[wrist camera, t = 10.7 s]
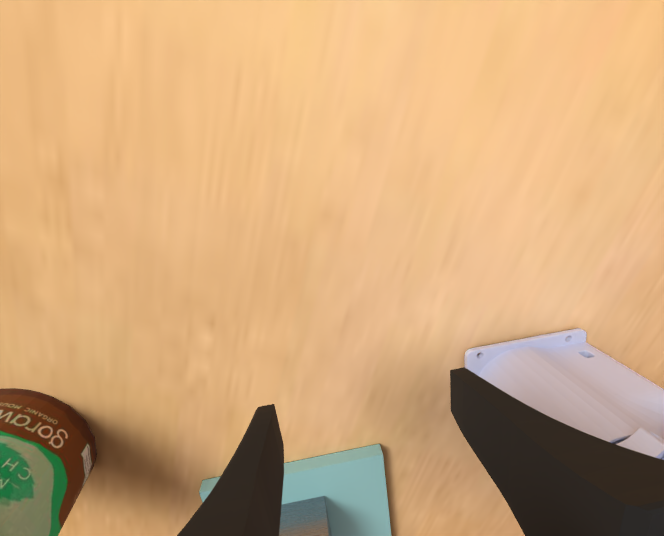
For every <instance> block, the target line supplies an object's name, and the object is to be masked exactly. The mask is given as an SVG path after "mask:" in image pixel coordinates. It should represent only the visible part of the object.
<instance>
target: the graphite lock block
mask: <svg viewBox="0 0 664 536" xmlns="http://www.w3.org/2000/svg"><path fill="white" fill-rule="evenodd" d="M279 536H332V534H331V528H330V523H329V517H328V512H327V506H326V501H325V496H320V497H316V498H311V499H306V500H301V501H297V502H292V503H287V504H282V505H281V517H280V530H279Z"/></svg>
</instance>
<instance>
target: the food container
mask: <svg viewBox="0 0 664 536" xmlns="http://www.w3.org/2000/svg"><path fill="white" fill-rule="evenodd" d="M96 455H97V453H96V444H95V437H94V435H93V433H92V431H91V430H90V428H89V426H88V424H87V422H86V421H85V420H84V419H83V418H82V417H81V416H80V415H79V414H78V413H77V412H76V411H74V410H73V409H72V408H71V407H70V406H69V405H67V404H65V403H63V402H61V401H59V400H57V399H56V398H54V397H51V396H48V395H46V394H43V393H40V392H35V391H31V390H24V389H0V536H58V534H59V532H60V530H61V528H62V526H63V524H64V523H65V521H66V519H67V517H68V515H69V513H70V511H71V509H72V507H73V505H74V503H75V501H76V499H77V497H78V495H79V493H80V491H81V489H82V488H83V486H84V484H85V482H86V480H87V478H88V476H89V474H90V472H91V470H92V468H93V466H94V462H95V459H96Z"/></svg>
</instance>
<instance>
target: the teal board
mask: <svg viewBox="0 0 664 536" xmlns="http://www.w3.org/2000/svg"><path fill="white" fill-rule="evenodd" d="M220 477H221V476H220ZM220 477H216V478H211V479H206V480H203V481H202V484H201V488H200V491H199V494H200V496H201V499H202V502H204V501H205V499H206V498H207V496H208V495H209V494H210V492H211V491H212V489H213V488H214V486H215V485H216V483H217V482H218V480H219V479H220ZM320 496H325V501H326V506H327V512H328V517H329V523H330V528H331V534H332V536H391V527H390V518H389V508H388V498H387V489H386V479H385V469H384V460H383V453H382V450H381V447H380V444H376V445H371V446H366V447H361V448H356V449H351V450H347V451H342V452H337V453H332V454H327V455H322V456H317V457H313V458H308V459H303V460H298V461H293V462H288V463H284V480H283V493H282V504H287V503H292V502H297V501H301V500H306V499H311V498H316V497H320Z"/></svg>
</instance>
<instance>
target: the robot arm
mask: <svg viewBox="0 0 664 536" xmlns="http://www.w3.org/2000/svg"><path fill="white" fill-rule="evenodd" d="M586 336H587V334H586V331H584V330H582V329H580V328H577V329H572V330H566V331H561V332H556V333H550V334H545V335H540V336H534V337H529V338H524V339H518V340H513V341H508V342H502V343H497V344H492V345H486V346H481V347H476V348H471V349H468V350H467V351H466V352H465V368H459V369H454V370H450V381H451V412H452V414H453V416H454V418H455V420H456V422H457V424H458V426H459V428H460V430H461V432H462V434H463V435H464V437H465V438H466V440H467V442H468V443H469V445H470V446H471V448H472V449H473V451H474V452H475V454H476V455H477V457H478V458H479V460H480V461H481V463H482V464H483V466H484V467H485V469H486V470H487V472H488V473H489V475H490V476H491V478H492V479H493V481H494V482H495V484H496V485H497V487H498V488H499V490H500V492H501V493H502V495H503V496H504V498H505V500H506V501H507V503H508V505H509V507H510V509H511V510H512V512H513V514H514V516H515V518H516V519H517V521H518V523H519V525H520V527H521V529H522V530H523V532H524V534H525V536H664V389H663V388H661V387H659V386H658V385H656V384H654V383H653V382H651V381H649V380H648V379H646V378H645V377H643V376H641V375H640V374H638V373H636V372H635V371H633V370H631V369H630V368H628V367H626V366H625V365H623V364H621V363H620V362H618V361H616V360H615V359H613V358H611V357H610V356H608V355H606V354H605V353H603V352H601V351H600V350H598V349H596V348H595V347H593V346H591V345H590V344H588V343H586ZM566 337H567V338H566ZM478 353H480V354H479V355H477V354H478ZM283 480H284V449H283V441H282V436H281V432H280V428H279V423H278V419H277V415H276V410H275V406H274V404H272V405H267V406H261V407H258V408H257V410H256V412H255V414H254V416H253V418H252V420H251V423H250V425H249V427H248V429H247V431H246V433H245V435H244V437H243V439H242V441H241V442H240V444H239V446H238V448H237V450H236V452H235V454H234V455H233V457H232V459H231V461H230V462H229V464H228V465H227V467H226V469H225V470H224V472H223V474H222V475H221V477H220V479H219V480H218V482H217V483H216V485H215V486H214V488H213V489H212V491H211V492H210V494H209V495H208V496H207V498H206V499H205V501H204V502H203V503H202V505H201V506H200V508H199V509H198V510H197V511H196V513H195V514H194V515H193V517H192V518H191V519H190V521H189V522H188V523H187V524H186V526H185V527H184V528H183V529H182V531H181V532H180V533H179V534H178V535H177V536H279V530H280V517H281V505H282V493H283Z"/></svg>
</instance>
